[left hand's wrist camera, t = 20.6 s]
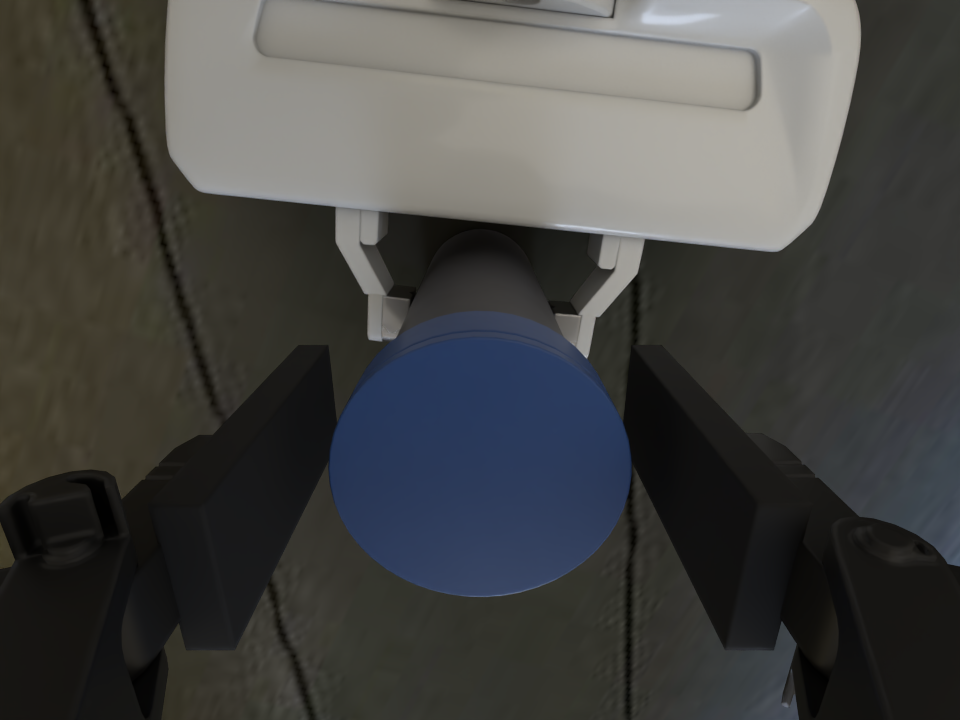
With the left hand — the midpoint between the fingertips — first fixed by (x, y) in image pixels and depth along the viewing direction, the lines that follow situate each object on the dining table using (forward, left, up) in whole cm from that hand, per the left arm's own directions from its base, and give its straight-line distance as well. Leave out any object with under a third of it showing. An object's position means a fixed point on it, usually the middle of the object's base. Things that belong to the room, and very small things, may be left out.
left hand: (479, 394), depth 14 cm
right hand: (0, -1, -6) cm, 6 cm away
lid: (0, 0, +4) cm, 4 cm away
